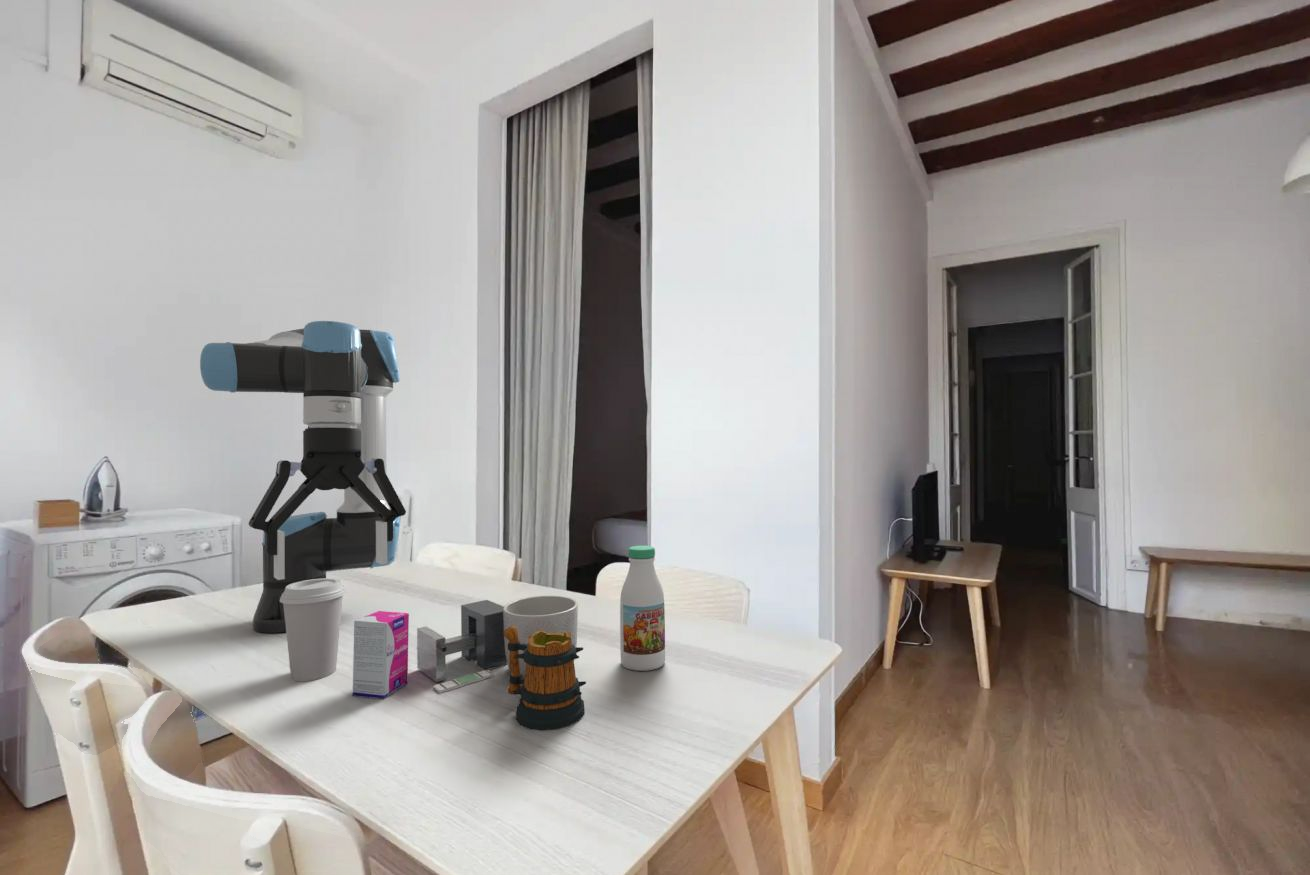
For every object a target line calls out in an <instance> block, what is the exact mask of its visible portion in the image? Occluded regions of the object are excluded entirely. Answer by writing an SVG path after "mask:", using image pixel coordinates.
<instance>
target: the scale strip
mask: <svg viewBox="0 0 1310 875" xmlns="http://www.w3.org/2000/svg"><path fill="white" fill-rule="evenodd" d="M493 677H495V674H494V673H493V672H492V671H490V669H489V670H481V671H478V672H475V673H470V674H467V675H463V676H461V677H460V676H459V677H457V678H455V679H451V680H448V681H445V682H441V683H439V684H435V685H433V688H432V689H433V690H435V691H437V693H439V694H441V693H442V694H443V692H447V691H452V690H454V689H458V688H461V687H463V686H467V685H470V684H473V683H476V682H480V681H482V680H486V679H489V678H493ZM457 687H458V688H457Z"/></svg>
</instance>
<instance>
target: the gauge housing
mask: <svg viewBox="0 0 1310 875" xmlns="http://www.w3.org/2000/svg"><path fill="white" fill-rule="evenodd" d="M503 608H504V606H503V605H501V604H499V603H496V602H494V601H491V600H488V599H484V600H480V601H475V602H470V603H465V604H461V605H460V610H461V611H460V616H461V618H460V621H461V622H460V623H461V624H460V626H461V628H460V629H461V630H460V633H461V635H465V634H469V633H473V632H476V638H477V647H475V648H472V649H468V650H464V651H461V658H463V659H464V660H467V661H468V662H471V661H474V660H476V667H478V668H480V669H482V671H484V670H489V671H490V670H492V669H495V668H498V667H502V666H505V665H508V664H507V660H506V654H505V642H504V634H503V631H504V622H503ZM461 635H460V636H461Z"/></svg>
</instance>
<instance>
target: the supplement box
mask: <svg viewBox="0 0 1310 875" xmlns="http://www.w3.org/2000/svg"><path fill="white" fill-rule="evenodd" d="M409 616H410V614H409V612H396V611H385V610H378V611H376V612H373V613H371V614H368V615H366V616H363V617H361V618H358V619H356V620H354V622H353V662H352V663H353V664H352V666H353V668H352V669H353V670H352V672H353V673H352V695H351V696H353V697H359V698H371V699H381V700H382V699H383V700H384V699H385V698H387V697H389V696H390V695H391V694H394V692H397V691H398V690H399V689H401V688H402V687H404V686H406V685H408V683H409V682H408V678H409V676H408V675H409V674H408V673H409V632H410V630H409V628H410V626H409V625H410V622H409V621H410V620H409V618H410V617H409Z"/></svg>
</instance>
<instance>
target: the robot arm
mask: <svg viewBox="0 0 1310 875" xmlns="http://www.w3.org/2000/svg"><path fill="white" fill-rule="evenodd" d="M199 358H200V359H199V366H200V375H201V380H202V382H203V384H204V386H206V387H207V388H208V389H209V390H211V391H214V392H216V391H217V392H229V393H237V392H238V393H246V392H247V393H289V394H290V393H291V394H293V393H294V394H302V395H303V401H302V402H303V405H302V406H303V409H302V416H303V418H302V422H303V424H304V425H307V428H304V430H303V431H302V434H303V435H302V437H303V439H302V441H303V442H302V446H303V448H302V451H303V452H302V455H303V456H302V460H301V461H300V462H296V461H289V460H285V459H284V460H278V462H277V463H276V469H275V470H276V471H275V476H274V478H273V479H272V481H271V483H270V485H269V486H268V488H267V490H266V492H264V496H263V497H262V499H261V501H260V502H259V504H258V505H257V507H256V509H255V511H254V513H253V514H252V516H251V518H250V519H249V521H248V526H249V528H251V529H252V528H253V529H254V530H260V531H263V536H262V543H261V546H262V579H263V580H262V583H263V585H262V593H261V596H260V598H259V600H258V604H257V607H256V609H255V612H254V614H253V619H252V628H253V631H256V632H258V633H265V634H267V633H268V634H273V633H276V634H277V633H286V624H285V615H284V606H283V603H281V602H280V597H281V596H282V593H284V591H285V588H286V586H287V585H289V584H292V583H295V582H300V581H305V580H311V579H322V578H327V572H331V571H343V570H353V569H354V570H355V569H366V568H370V569H373V568H378V567H386V566H389V565H391V564H392V563H394V561H395V558H396V552H397V547H398V541H399V533H400V526H401V517H403V516H405V515H406V513H407V510H406V508H405V507H404V505H403V503H402V501H401V500H400V498H399V495H398V494H397V491H396V490H395V488H394V486H393V484H392V483H391V480H390V479H389V476H388V475H387V397H388V395H389V394H390V393H392V392H393V391H394V383H395V384H397V383H399V382H400V381H401V376H400V371H399V365H398V358H397V352H396V345H395V339H394V337H393V335H392V334H391V333H390V332H387V331H381V330H374V329H373V330H372V329H359V328H358V326H355V325H354V324H351V323H346V322H340V321H334V320H333V321H332V320H315V321H314V320H313V321H310V322H308V323H307V324H305V326H304V328H299V329H292V330H287V331H281V332H278V333H276V334H274V335H272V336H271V337H269V338H268V339H265V340H261V341H255V342H247V343H240V342H239V343H237V342H236V343H235V342H234V343H233V342H230V341H229V342H228V341H226V342H208V343H207V344H206V345H204V347H203V348H202V350H201V352H200V357H199ZM297 471H300V472H301V474H302V475H303V476H304V477H305V478H306V479H305V480H304V481H303V482H302V483H301V484H300V485H299V486H298V488H297V489H296V490H295V492H294V493H292V494H291V496H290V497H289V498H288V499H287V500H286V501H285V502H284V504H282V506H281V507H280V508H279V509H278V510H277V511H276V512H275V513H274V514H273V515H272V516H271V518H270V519H269V520H268V521H266V520H267V519H268V516H269V515H270V514H271V512H272V509H273V508H274V506H275V504H276V503H277V501H278V499H279V497H280V496H281V494H282V492H283V491H284V488H285V487H286V484H287V483H288V481H289V479H290V477H293V476H295V474H296V472H297ZM316 489H317V490H320V491H331V490H334V489H335V490H344V493H343V494H344V495H343V496H344V497H343V498H344V502H343V503H342V504H341V505H340V506H339V507H338V508H337V509H336V517H333V518H332V517H328V515H327V513H326V512H324V511H317V512H314V511H313V512H308V513H302V514H301V513H300V514H295V515H292V514H293V513H295V511H296V510H298V508H299V507H300V506H301V505H302V504H303V503H304V502H305V501H306V499H307V498H308V497H309V496H310V495H311V494H313V493H314V492H315V491H316Z"/></svg>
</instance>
